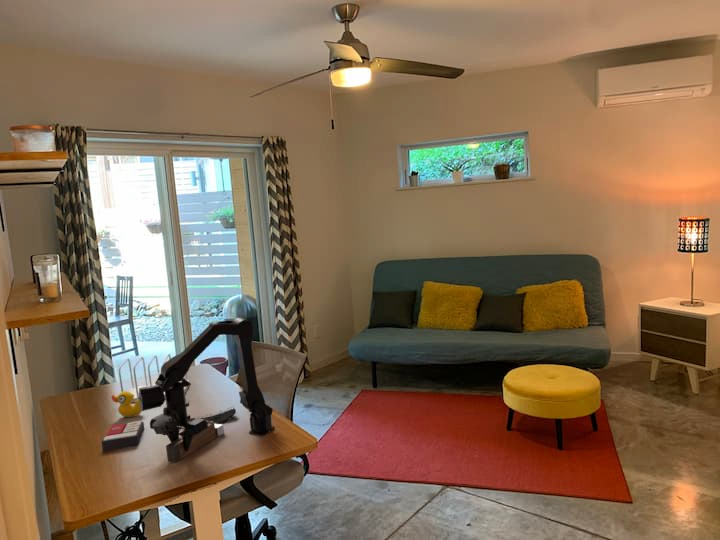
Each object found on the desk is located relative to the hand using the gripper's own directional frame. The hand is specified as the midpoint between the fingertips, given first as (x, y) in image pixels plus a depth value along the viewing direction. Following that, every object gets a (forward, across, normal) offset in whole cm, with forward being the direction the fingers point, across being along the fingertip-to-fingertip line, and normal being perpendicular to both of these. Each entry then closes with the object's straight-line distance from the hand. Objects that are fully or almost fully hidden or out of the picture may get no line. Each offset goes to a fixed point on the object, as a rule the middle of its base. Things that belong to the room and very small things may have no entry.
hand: (181, 450), depth 165 cm
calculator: (+3, -30, +4) cm, 30 cm away
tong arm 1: (+2, -1, +5) cm, 5 cm away
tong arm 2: (+2, +1, +5) cm, 5 cm away
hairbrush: (+3, -12, +23) cm, 26 cm away
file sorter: (+2, -55, +43) cm, 70 cm away
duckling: (+2, -45, +20) cm, 49 cm away
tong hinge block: (+2, 0, +16) cm, 16 cm away
